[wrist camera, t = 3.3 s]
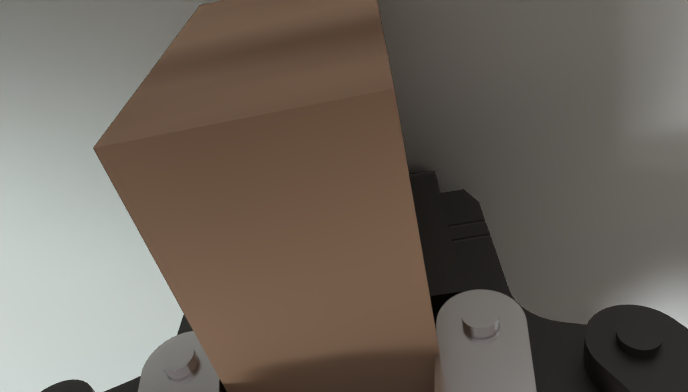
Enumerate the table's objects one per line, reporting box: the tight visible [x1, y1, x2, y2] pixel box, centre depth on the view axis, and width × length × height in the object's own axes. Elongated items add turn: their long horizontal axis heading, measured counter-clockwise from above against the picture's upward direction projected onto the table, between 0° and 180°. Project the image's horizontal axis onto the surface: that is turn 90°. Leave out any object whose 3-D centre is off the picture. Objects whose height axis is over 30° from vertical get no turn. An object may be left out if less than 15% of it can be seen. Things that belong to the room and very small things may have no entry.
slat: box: [93, 0, 440, 392], centre depth 10 cm, size 10×3×5 cm, turn 12°
